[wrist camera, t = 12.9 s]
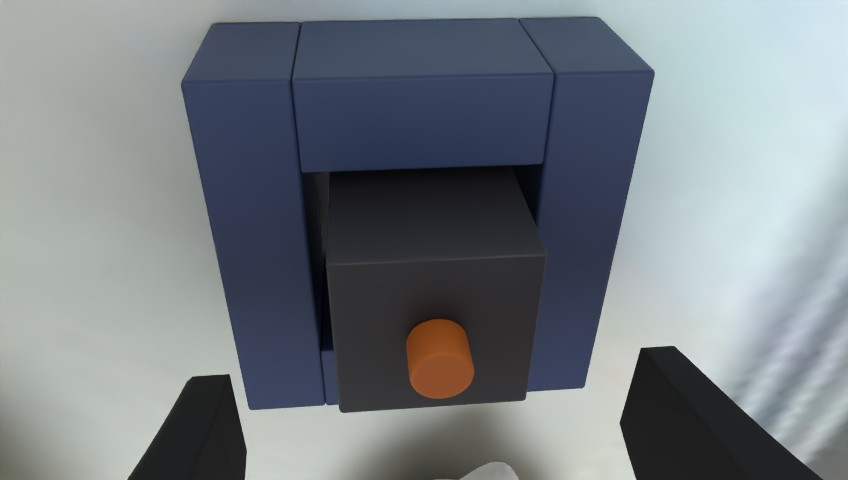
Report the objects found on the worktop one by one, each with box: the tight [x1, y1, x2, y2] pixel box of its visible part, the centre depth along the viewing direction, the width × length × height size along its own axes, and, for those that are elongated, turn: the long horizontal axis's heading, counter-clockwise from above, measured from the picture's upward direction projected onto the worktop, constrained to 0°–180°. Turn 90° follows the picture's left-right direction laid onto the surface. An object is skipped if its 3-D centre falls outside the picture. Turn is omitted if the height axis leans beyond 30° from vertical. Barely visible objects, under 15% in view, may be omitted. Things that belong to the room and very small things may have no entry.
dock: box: [181, 17, 655, 410], centre depth 16 cm, size 9×9×4 cm
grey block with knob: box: [326, 165, 547, 413], centre depth 15 cm, size 4×4×7 cm
